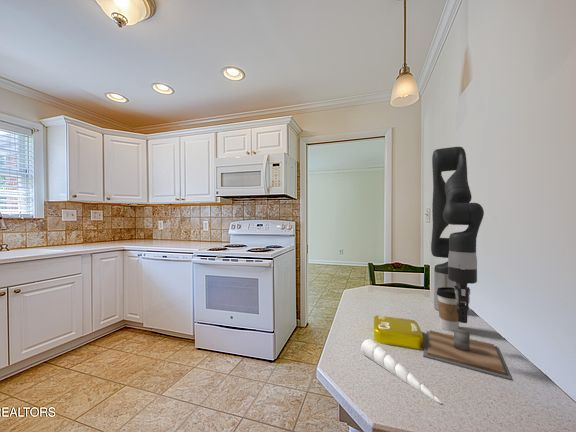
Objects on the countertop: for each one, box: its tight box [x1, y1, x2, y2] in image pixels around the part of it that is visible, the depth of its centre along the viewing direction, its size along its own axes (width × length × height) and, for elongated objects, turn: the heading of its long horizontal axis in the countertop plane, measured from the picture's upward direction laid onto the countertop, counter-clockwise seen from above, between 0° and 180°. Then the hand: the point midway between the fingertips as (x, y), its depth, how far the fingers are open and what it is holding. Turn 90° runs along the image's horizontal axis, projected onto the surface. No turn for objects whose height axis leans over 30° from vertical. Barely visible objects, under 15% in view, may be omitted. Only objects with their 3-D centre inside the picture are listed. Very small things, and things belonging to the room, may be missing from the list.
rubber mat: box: [422, 330, 512, 381], centre depth 78 cm, size 20×20×1 cm
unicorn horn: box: [360, 338, 443, 405], centre depth 66 cm, size 5×24×5 cm, turn 22°
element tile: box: [373, 315, 424, 350], centre depth 88 cm, size 15×15×5 cm
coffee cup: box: [437, 287, 460, 332], centre depth 96 cm, size 8×8×15 cm
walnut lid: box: [427, 328, 505, 375], centre depth 78 cm, size 18×18×6 cm
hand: (461, 318), depth 78 cm, fingers open, 8 cm apart
